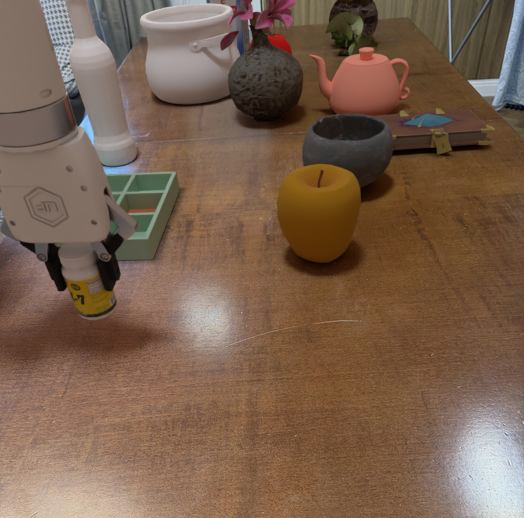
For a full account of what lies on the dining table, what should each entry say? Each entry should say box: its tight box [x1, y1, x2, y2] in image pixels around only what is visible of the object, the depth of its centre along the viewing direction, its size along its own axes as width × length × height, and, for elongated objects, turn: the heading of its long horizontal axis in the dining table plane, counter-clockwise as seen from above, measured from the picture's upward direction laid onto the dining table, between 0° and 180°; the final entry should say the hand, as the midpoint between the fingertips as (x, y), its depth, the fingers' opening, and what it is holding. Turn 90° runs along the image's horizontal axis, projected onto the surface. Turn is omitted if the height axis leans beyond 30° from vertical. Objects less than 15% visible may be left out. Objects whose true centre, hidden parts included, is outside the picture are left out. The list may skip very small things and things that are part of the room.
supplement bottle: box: [58, 243, 118, 321], centre depth 57 cm, size 5×5×8 cm
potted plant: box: [325, 0, 379, 57], centre depth 144 cm, size 16×15×35 cm
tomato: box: [249, 31, 293, 56], centre depth 135 cm, size 11×13×10 cm
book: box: [373, 107, 496, 156], centre depth 98 cm, size 16×25×5 cm, turn 91°
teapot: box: [308, 47, 411, 116], centre depth 109 cm, size 22×16×12 cm
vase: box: [220, 0, 304, 124], centre depth 104 cm, size 17×18×30 cm
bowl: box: [301, 114, 394, 189], centre depth 85 cm, size 15×15×10 cm
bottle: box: [64, 0, 138, 167], centre depth 93 cm, size 8×8×30 cm
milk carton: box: [205, 0, 251, 56], centre depth 146 cm, size 10×6×20 cm, turn 73°
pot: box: [139, 3, 240, 105], centre depth 125 cm, size 26×24×18 cm
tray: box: [56, 171, 181, 261], centre depth 82 cm, size 15×22×4 cm
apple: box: [276, 164, 362, 264], centre depth 68 cm, size 11×11×13 cm
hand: (88, 282), depth 58 cm, fingers closed on supplement bottle, 4 cm apart
